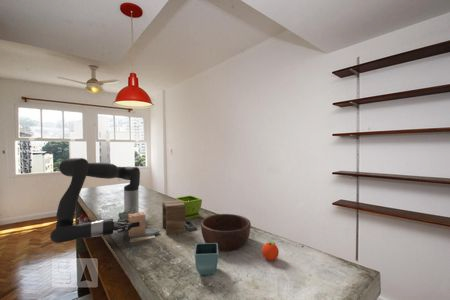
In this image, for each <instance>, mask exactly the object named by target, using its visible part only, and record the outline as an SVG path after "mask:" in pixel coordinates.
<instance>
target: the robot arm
mask: <svg viewBox="0 0 450 300" xmlns="http://www.w3.org/2000/svg"><path fill="white" fill-rule="evenodd" d="M58 170H59V172H60V173H61V175H64V176H66V177H69V178H70V177H71V181H70V184H69V186H68V188H67V189H66V191H65V192H64V194H63V195H62V196H61V198H60V200H59V203H58V205H57V210H56V216H55V217H56V218H55V219H56V225H55V228H54V229H52V231H51V232H50V234H49V235H50V236H49V237H50V241H52V242H53V243H56V244H62V243H66V242H71V241H74V240H80V239H81V240H82V239H88V238H95V237H96V238H98V237H104V236H110V235H113V234H114V231H117V233H123V232H127V231H128V230H131V228H133V227H139V226H140V223H139V222H136V223H128V218H126V219H119V218H118V219H117V220H116V221H114V219H113V218H107V219H102V220H95V221H90V222H82V223H79V224H74V219H75V215H76V210H77V204H78V201H79V198H80V193H81V191H82V189H83V186H84V183H85V181H86V178H87V177H91V178H96V179H106V180H107V179H109V180H110V179H115V178H116V179H120V180H126V181H129V184H126V185H124V187H123V203H124V204H123V212H124V211H126V210H130V209H131V207H134V208H136V211H137V213H140V212H139V207H140V205H139V201H140V200H139V198H140V197H139V196H140V195H139V187H140V183H141V182H140V181H141V180H140V178H141V177H140V176H141V171H140V169H139V167H137V166H117V165H115V164H114V163H109V162H89V161H88V160H87V159H86V158H83V157H73V158H72V157H70V158H66V159H64V160H63V161H62V162H60V164H59V167H58Z"/></svg>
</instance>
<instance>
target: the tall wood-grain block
mask: <svg viewBox="0 0 450 300" xmlns="http://www.w3.org/2000/svg"><path fill="white" fill-rule="evenodd" d="M136 222H139V223H140V226H139V227H133V228H131V230H128V237H130V236H131V238H137V237H143V236H148V235H158V234H160V231H159V228H158V227H151V228H149V227H148V228H146V213H145V211H143V212H139V213H133V214H128V223H136Z"/></svg>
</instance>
